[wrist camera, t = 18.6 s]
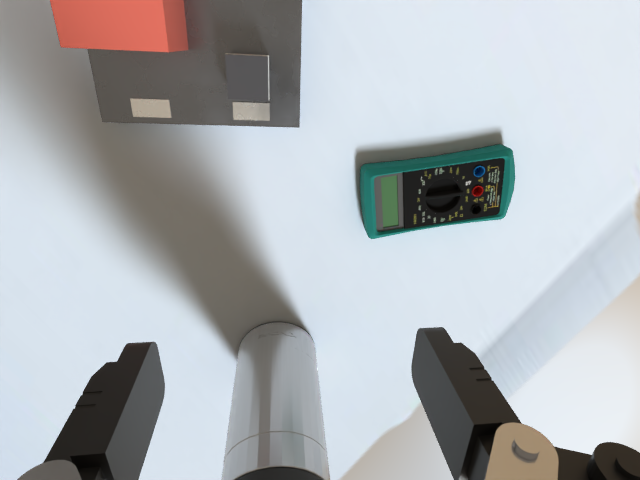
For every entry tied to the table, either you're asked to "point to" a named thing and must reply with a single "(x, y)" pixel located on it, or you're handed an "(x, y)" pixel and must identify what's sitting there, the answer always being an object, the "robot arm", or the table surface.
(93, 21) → the red cube
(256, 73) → the breaker
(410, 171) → the digital multimeter
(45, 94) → the table surface
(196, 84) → the breaker panel
